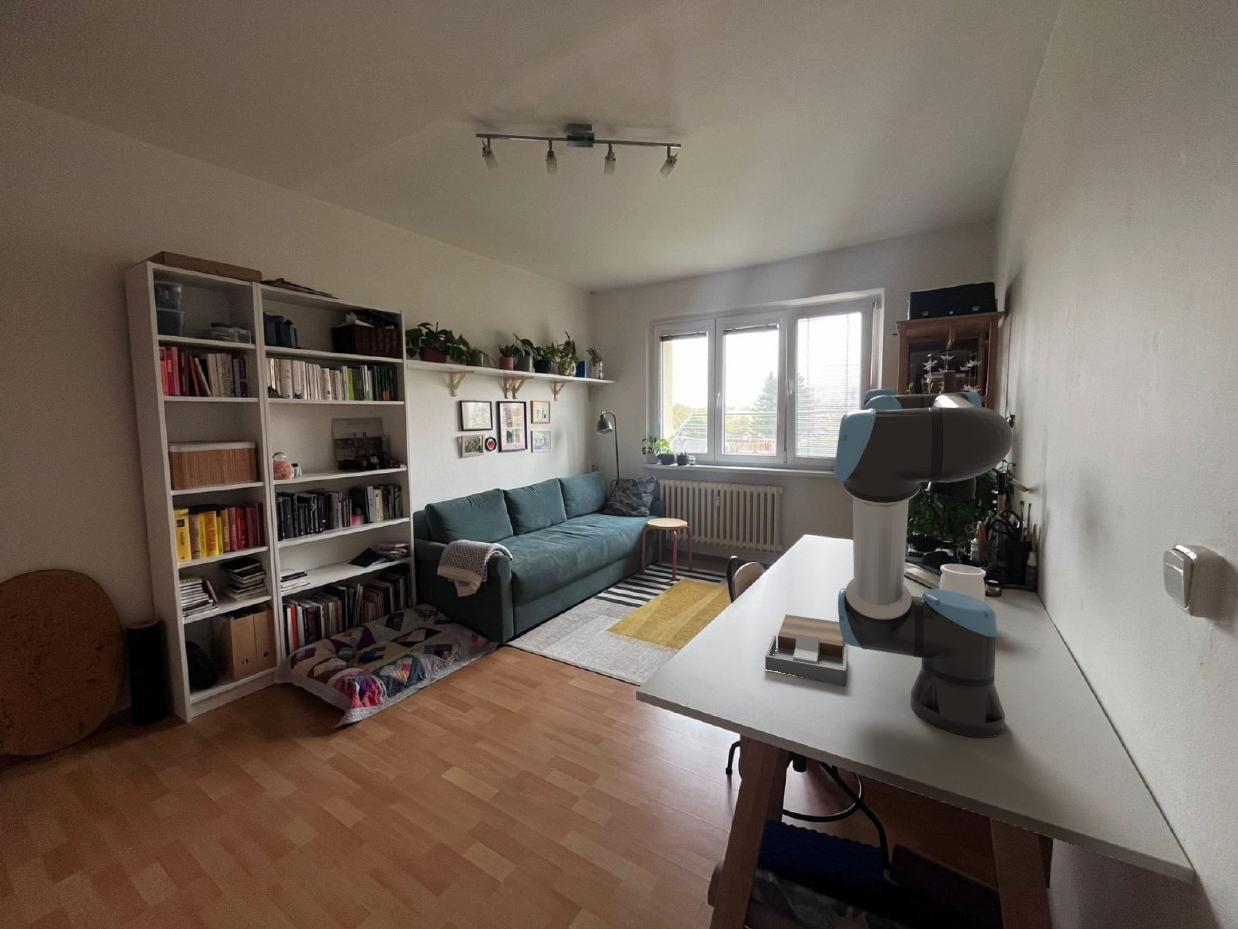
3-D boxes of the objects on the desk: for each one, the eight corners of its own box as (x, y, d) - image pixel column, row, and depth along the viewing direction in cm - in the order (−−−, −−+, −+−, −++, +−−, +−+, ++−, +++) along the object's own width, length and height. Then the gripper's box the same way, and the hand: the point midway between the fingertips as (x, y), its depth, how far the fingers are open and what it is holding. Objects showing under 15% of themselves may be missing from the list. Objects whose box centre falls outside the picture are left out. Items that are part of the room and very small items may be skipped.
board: (842, 660, 118) (842, 646, 117) (777, 649, 124) (777, 635, 124) (844, 635, 131) (844, 622, 131) (785, 626, 138) (785, 614, 137)
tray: (845, 686, 106) (845, 670, 106) (765, 670, 114) (765, 656, 113) (847, 660, 117) (847, 646, 117) (773, 648, 125) (773, 635, 125)
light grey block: (818, 651, 114) (818, 666, 114) (795, 647, 116) (795, 662, 116) (816, 661, 109) (816, 676, 110) (793, 657, 112) (792, 671, 112)
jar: (992, 624, 136) (994, 571, 135) (968, 630, 132) (969, 576, 131) (954, 610, 146) (955, 561, 144) (930, 616, 142) (931, 566, 141)
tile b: (817, 653, 114) (818, 638, 116) (795, 649, 116) (796, 634, 118) (819, 658, 118) (819, 644, 119) (797, 655, 120) (798, 640, 122)
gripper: (901, 453, 115) (899, 551, 117) (894, 449, 127) (892, 539, 129) (865, 453, 118) (864, 549, 120) (862, 450, 130) (861, 537, 132)
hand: (878, 543), depth 124 cm, fingers closed
